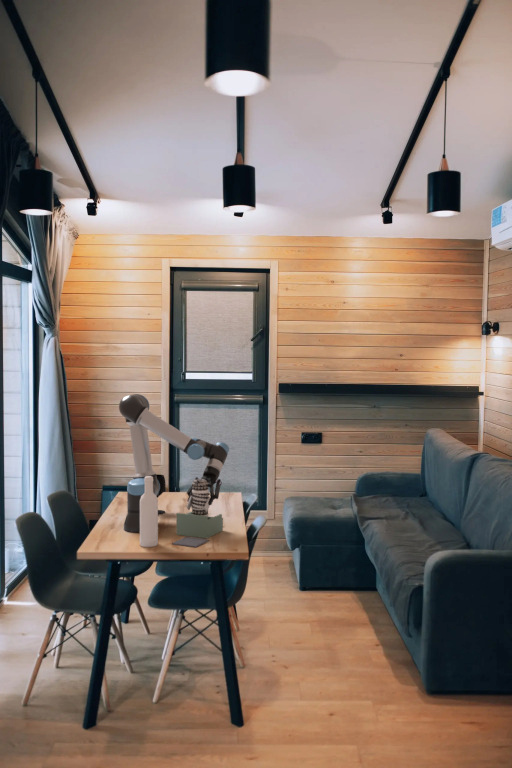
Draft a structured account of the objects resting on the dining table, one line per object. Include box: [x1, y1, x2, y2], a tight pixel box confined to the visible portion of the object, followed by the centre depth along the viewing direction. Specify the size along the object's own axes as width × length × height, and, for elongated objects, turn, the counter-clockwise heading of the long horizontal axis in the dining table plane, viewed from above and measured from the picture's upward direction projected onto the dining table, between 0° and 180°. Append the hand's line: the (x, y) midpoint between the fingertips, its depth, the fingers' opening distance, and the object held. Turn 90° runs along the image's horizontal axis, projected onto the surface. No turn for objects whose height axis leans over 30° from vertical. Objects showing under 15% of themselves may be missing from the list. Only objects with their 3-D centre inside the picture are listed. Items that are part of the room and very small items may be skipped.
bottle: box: [139, 476, 159, 548], centre depth 279 cm, size 8×8×30 cm
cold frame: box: [175, 511, 224, 539], centre depth 301 cm, size 16×16×10 cm
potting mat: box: [171, 536, 210, 548], centre depth 283 cm, size 12×12×1 cm
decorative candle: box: [190, 479, 210, 519], centre depth 300 cm, size 9×9×25 cm
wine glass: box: [156, 473, 167, 516], centre depth 342 cm, size 10×10×20 cm
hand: (196, 509), depth 298 cm, fingers closed on decorative candle, 9 cm apart
